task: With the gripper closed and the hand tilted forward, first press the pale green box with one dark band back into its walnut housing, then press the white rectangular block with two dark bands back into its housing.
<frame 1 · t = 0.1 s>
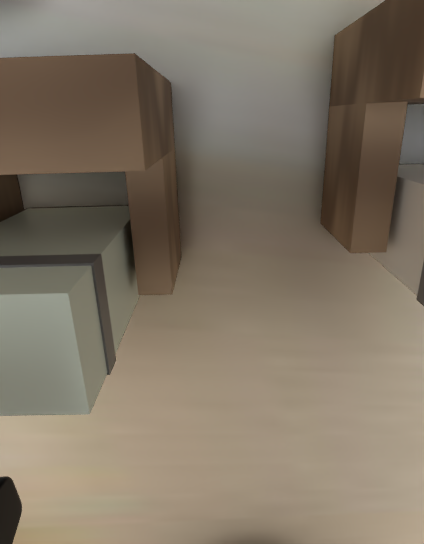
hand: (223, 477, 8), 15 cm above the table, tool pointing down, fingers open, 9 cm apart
housing two: (415, 202, 21), on the table
pale green box: (50, 283, 16), point 6 cm above the table, slide at 0.0 cm
housing one: (91, 241, 22), on the table
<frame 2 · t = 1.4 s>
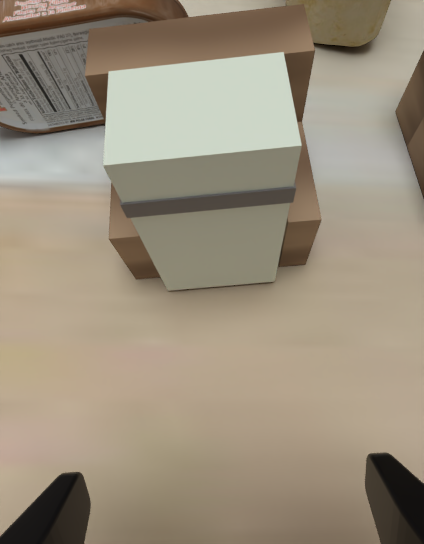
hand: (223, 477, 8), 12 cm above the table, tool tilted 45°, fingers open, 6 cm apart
food model: (326, 22, 30), on the table
tin: (99, 118, 28), on the table
pale green box: (211, 201, 18), point 6 cm above the table, slide at 0.0 cm
housing one: (218, 256, 23), on the table
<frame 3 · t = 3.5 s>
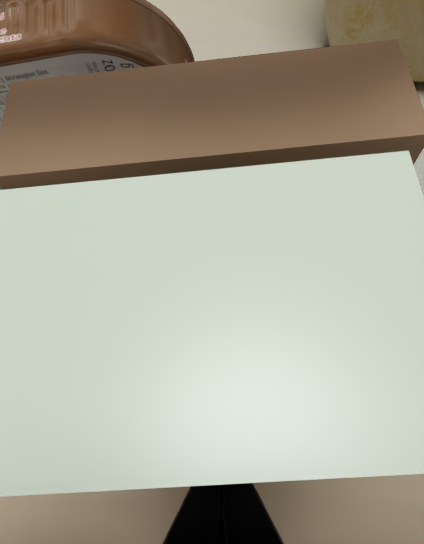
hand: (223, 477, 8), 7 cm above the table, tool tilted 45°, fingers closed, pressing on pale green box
food model: (376, 46, 22), on the table
tin: (66, 180, 20), on the table
pale green box: (224, 372, 10), point 6 cm above the table, slide at 0.6 cm, touching gripper
housing one: (233, 412, 15), on the table
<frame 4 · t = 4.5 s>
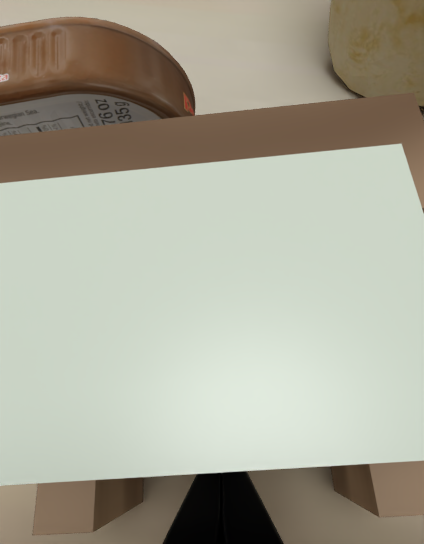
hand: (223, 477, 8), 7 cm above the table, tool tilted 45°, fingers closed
food model: (381, 67, 22), on the table
tin: (60, 209, 20), on the table
pale green box: (221, 367, 10), point 6 cm above the table, slide at 2.5 cm
housing one: (235, 464, 14), on the table
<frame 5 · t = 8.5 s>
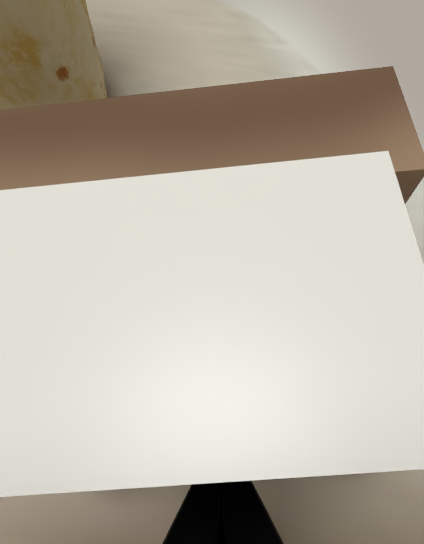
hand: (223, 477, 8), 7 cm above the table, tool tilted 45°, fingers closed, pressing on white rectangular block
housing two: (228, 439, 15), on the table
food model: (67, 113, 22), on the table
white rectangular block: (214, 372, 10), point 6 cm above the table, slide at 1.5 cm, touching gripper
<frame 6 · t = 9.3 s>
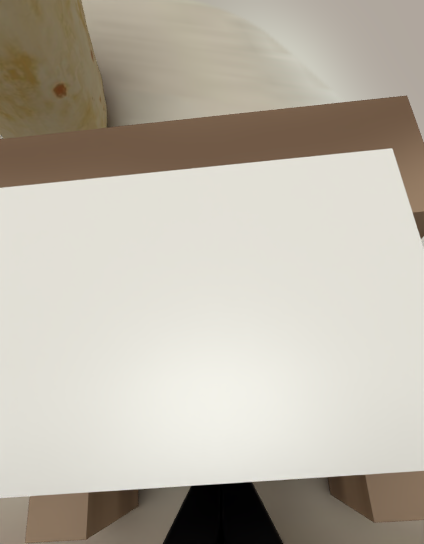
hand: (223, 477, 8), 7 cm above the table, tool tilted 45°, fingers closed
housing two: (231, 468, 14), on the table
food model: (65, 125, 22), on the table
white rectangular block: (215, 371, 10), point 6 cm above the table, slide at 2.6 cm
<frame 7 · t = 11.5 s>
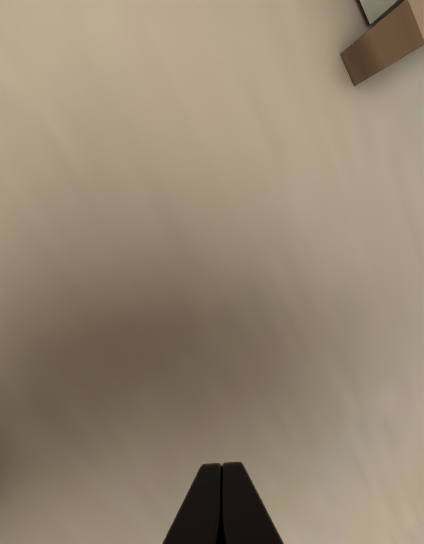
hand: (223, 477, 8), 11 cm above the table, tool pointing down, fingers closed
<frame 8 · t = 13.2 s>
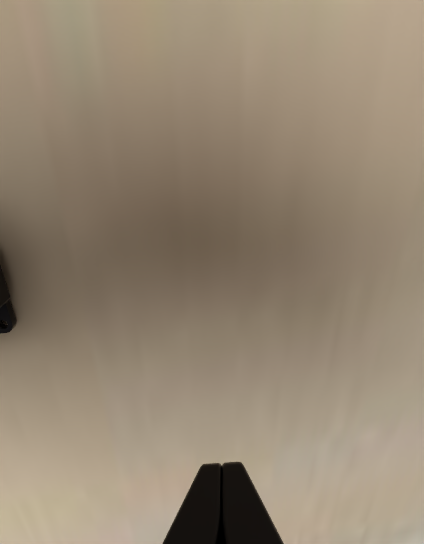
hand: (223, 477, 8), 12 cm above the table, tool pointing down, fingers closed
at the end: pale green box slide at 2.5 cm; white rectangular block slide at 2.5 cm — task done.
